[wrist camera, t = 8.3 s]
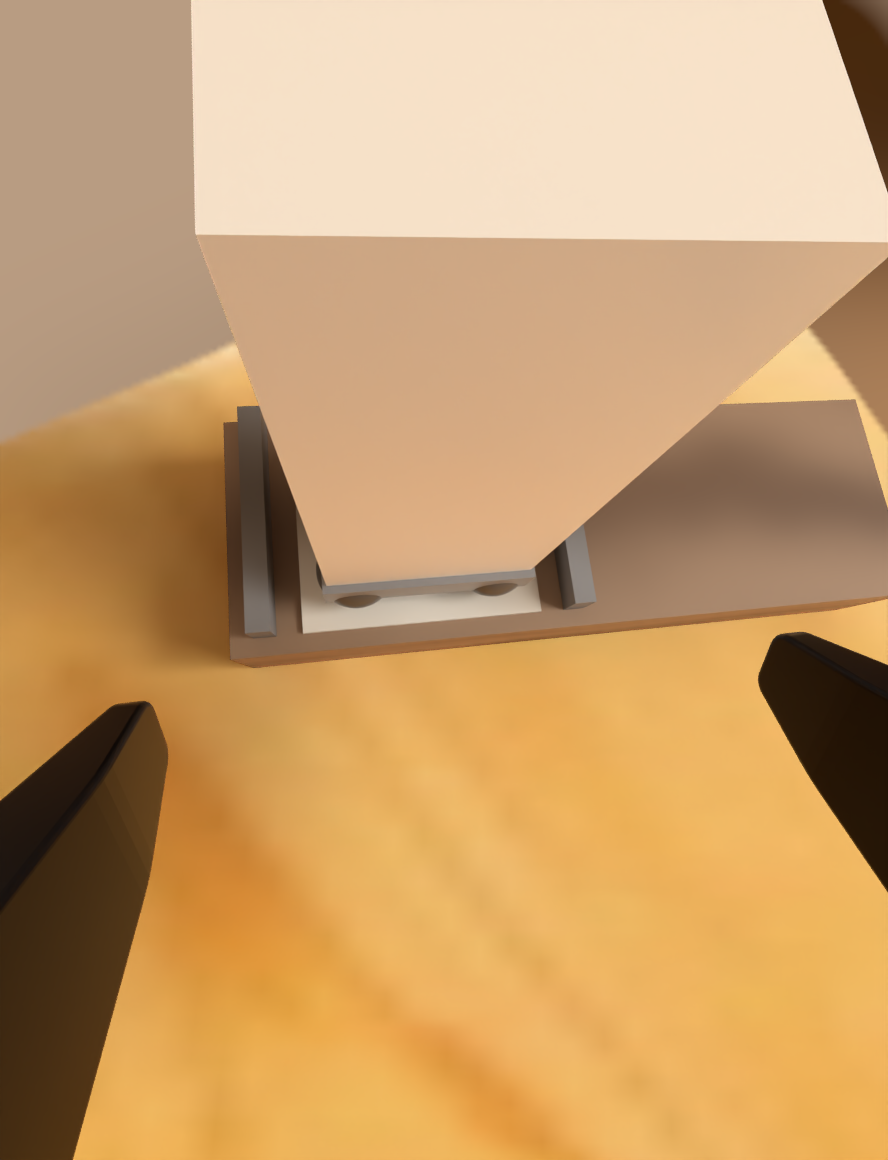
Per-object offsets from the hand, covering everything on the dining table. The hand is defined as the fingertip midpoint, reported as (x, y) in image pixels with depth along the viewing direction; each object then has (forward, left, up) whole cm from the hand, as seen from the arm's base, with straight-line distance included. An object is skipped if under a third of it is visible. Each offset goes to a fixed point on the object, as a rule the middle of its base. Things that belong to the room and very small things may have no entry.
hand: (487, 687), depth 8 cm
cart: (+4, +2, -7) cm, 9 cm away
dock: (+7, -2, -10) cm, 12 cm away
